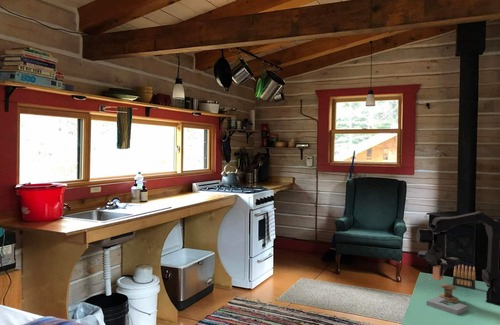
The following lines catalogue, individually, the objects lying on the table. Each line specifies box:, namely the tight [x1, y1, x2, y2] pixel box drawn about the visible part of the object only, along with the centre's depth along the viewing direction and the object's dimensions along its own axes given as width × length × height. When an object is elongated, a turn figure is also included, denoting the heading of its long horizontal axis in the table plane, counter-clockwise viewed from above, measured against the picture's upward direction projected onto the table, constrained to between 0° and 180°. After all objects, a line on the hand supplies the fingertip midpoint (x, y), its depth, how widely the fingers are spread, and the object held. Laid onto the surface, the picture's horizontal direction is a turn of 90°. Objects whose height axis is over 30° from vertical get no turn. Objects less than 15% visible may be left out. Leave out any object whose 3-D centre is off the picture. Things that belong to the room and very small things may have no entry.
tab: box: [432, 264, 444, 281], centre depth 199 cm, size 3×4×6 cm
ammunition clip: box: [452, 264, 476, 290], centre depth 220 cm, size 11×2×12 cm, turn 52°
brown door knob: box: [437, 283, 459, 304], centre depth 199 cm, size 9×9×6 cm
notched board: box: [426, 296, 469, 316], centre depth 189 cm, size 14×10×2 cm
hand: (437, 275), depth 199 cm, fingers closed on tab, 3 cm apart
